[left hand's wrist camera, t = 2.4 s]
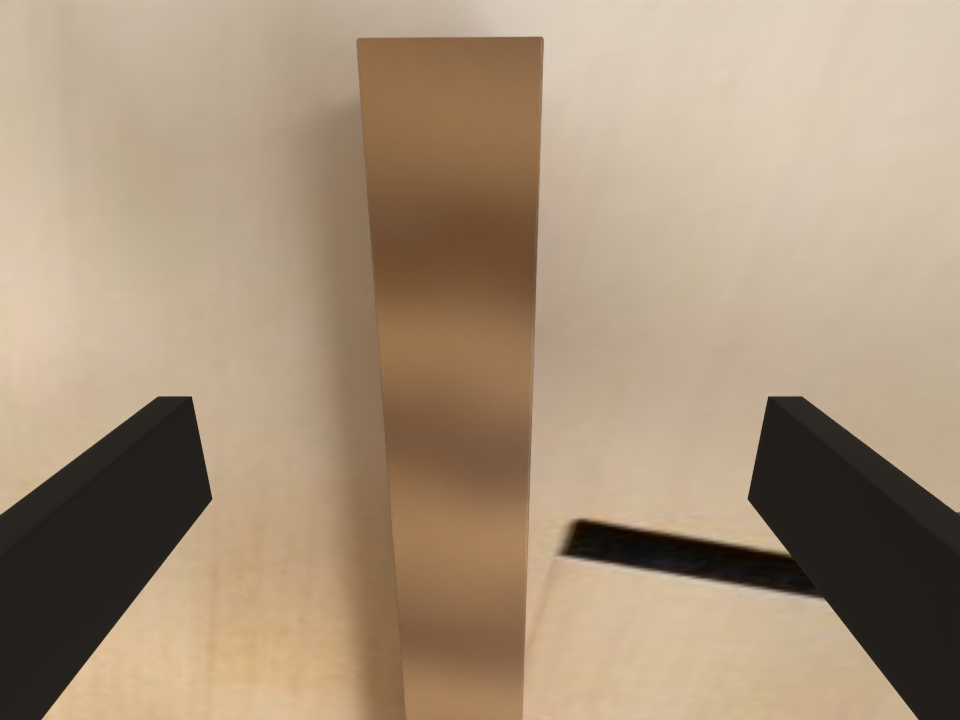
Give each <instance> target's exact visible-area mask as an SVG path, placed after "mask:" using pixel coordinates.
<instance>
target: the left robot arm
mask: <svg viewBox="0 0 960 720" xmlns="http://www.w3.org/2000/svg"><path fill="white" fill-rule="evenodd" d="M211 500H212V495H211V490H210V485H209V480H208V475H207V470H206V465H205V460H204V455H203V450H202V445H201V440H200V435H199V430H198V425H197V420H196V415H195V410H194V405H193V400H192V397H157V398H155V399H154V400H153V401H151V402H150V403H149V404H147V405H146V406H145V407H143V408H142V409H141V410H140V411H138V412H137V413H136V414H134V415H133V416H132V417H130V418H129V419H128V420H126V421H125V422H124V423H122V424H121V425H120V426H118V427H117V428H116V429H114V430H113V431H112V432H110V433H109V434H108V435H106V436H105V437H104V438H102V439H101V440H100V441H98V442H97V443H96V444H94V445H93V446H92V447H90V448H89V449H88V450H86V451H85V452H84V453H82V454H81V455H80V456H78V457H77V458H76V459H74V460H73V461H72V462H70V463H69V464H68V465H66V466H65V467H64V468H62V469H61V470H60V471H58V472H57V473H56V474H54V475H53V476H52V477H50V478H49V479H48V480H47V481H45V482H44V483H43V484H41V485H40V486H39V487H37V488H36V489H35V490H33V491H32V492H31V493H29V494H28V495H27V496H25V497H24V498H23V499H21V500H20V501H19V502H17V503H16V504H15V505H13V506H12V507H11V508H9V509H8V510H7V511H5V512H4V513H3V514H1V515H0V720H41V719H42V718H43V717H44V716H45V714H46V713H47V712H48V710H49V709H50V708H51V707H52V705H53V704H54V703H55V701H56V700H57V699H58V698H59V696H60V695H61V694H62V692H63V691H64V690H65V689H66V687H67V686H68V685H69V683H70V682H71V681H72V680H73V678H74V677H75V676H76V674H77V673H78V672H79V670H80V669H81V668H82V667H83V665H84V664H85V663H86V661H87V660H88V659H89V658H90V656H91V655H92V654H93V652H94V651H95V650H96V649H97V647H98V646H99V645H100V643H101V642H102V641H103V640H104V638H105V637H106V636H107V634H108V633H109V632H110V631H111V629H112V628H113V627H114V625H115V624H116V623H117V622H118V620H119V619H120V618H121V616H122V615H123V614H124V612H125V611H126V610H127V609H128V607H129V606H130V605H131V603H132V602H133V601H134V600H135V598H136V597H137V596H138V594H139V593H140V592H141V591H142V589H143V588H144V587H145V585H146V584H147V583H148V582H149V580H150V579H151V578H152V576H153V575H154V574H155V573H156V571H157V570H158V569H159V567H160V566H161V565H162V563H163V562H164V561H165V560H166V558H167V557H168V556H169V554H170V553H171V552H172V551H173V549H174V548H175V547H176V545H177V544H178V543H179V542H180V540H181V539H182V538H183V536H184V535H185V534H186V533H187V531H188V530H189V529H190V527H191V526H192V525H193V524H194V522H195V521H196V520H197V518H198V517H199V516H200V515H201V513H202V512H203V511H204V509H205V508H206V507H207V505H208V504H209V503H210V502H211ZM748 500H749V502H750V503H751V504H752V505H753V507H754V508H755V509H756V511H757V512H758V513H759V515H760V516H761V517H762V518H763V520H764V521H765V522H766V524H767V525H768V526H769V527H770V529H771V530H772V531H773V533H774V534H775V535H776V536H777V538H778V539H779V540H780V542H781V543H782V544H783V545H784V547H785V548H786V549H787V551H788V552H789V553H790V554H791V556H792V557H793V558H794V560H795V561H796V562H797V563H798V565H799V566H800V567H801V569H802V570H803V571H804V573H805V574H806V575H807V576H808V578H809V579H810V580H811V582H812V583H813V584H814V585H815V587H816V588H817V589H818V591H819V592H820V593H821V594H822V596H823V597H824V598H825V600H826V601H827V602H828V603H829V605H830V606H831V607H832V609H833V610H834V611H835V612H836V614H837V615H838V616H839V618H840V619H841V620H842V622H843V623H844V624H845V625H846V627H847V628H848V629H849V631H850V632H851V633H852V634H853V636H854V637H855V638H856V640H857V641H858V642H859V643H860V645H861V646H862V647H863V649H864V650H865V651H866V652H867V654H868V655H869V656H870V658H871V659H872V660H873V661H874V663H875V664H876V665H877V667H878V668H879V669H880V670H881V672H882V673H883V674H884V676H885V677H886V678H887V680H888V681H889V682H890V683H891V685H892V686H893V687H894V689H895V690H896V691H897V692H898V694H899V695H900V696H901V698H902V699H903V700H904V701H905V703H906V704H907V705H908V707H909V708H910V709H911V710H912V712H913V713H914V714H915V716H916V717H917V718H918V719H919V720H960V513H956V512H955V511H953V510H952V509H951V508H949V507H948V506H947V505H945V504H944V503H943V502H941V501H940V500H939V499H937V498H936V497H935V496H933V495H932V494H931V493H929V492H928V491H927V490H925V489H924V488H923V487H921V486H920V485H919V484H917V483H916V482H915V481H913V480H912V479H911V478H909V477H908V476H907V475H906V474H904V473H903V472H902V471H900V470H899V469H898V468H896V467H895V466H894V465H892V464H891V463H890V462H888V461H887V460H886V459H884V458H883V457H882V456H880V455H879V454H878V453H876V452H875V451H874V450H872V449H871V448H870V447H868V446H867V445H866V444H864V443H863V442H862V441H860V440H859V439H858V438H856V437H855V436H854V435H852V434H851V433H850V432H848V431H847V430H846V429H844V428H843V427H842V426H840V425H839V424H838V423H836V422H835V421H834V420H832V419H831V418H830V417H828V416H827V415H826V414H824V413H823V412H822V411H820V410H819V409H818V408H817V407H815V406H814V405H813V404H811V403H810V402H809V401H807V400H806V399H805V398H803V397H768V400H767V405H766V410H765V415H764V420H763V425H762V430H761V435H760V440H759V445H758V450H757V455H756V460H755V465H754V470H753V475H752V480H751V485H750V490H749V495H748Z"/></svg>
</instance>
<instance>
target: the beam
mask: <svg viewBox="0 0 960 720" xmlns="http://www.w3.org/2000/svg"><path fill="white" fill-rule="evenodd" d="M356 43H357V57H358V71H359V84H360V98H361V112H362V125H363V139H364V153H365V167H366V180H367V194H368V208H369V221H370V235H371V249H372V263H373V276H374V290H375V304H376V317H377V331H378V345H379V359H380V372H381V386H382V400H383V413H384V427H385V441H386V455H387V468H388V482H389V496H390V509H391V523H392V537H393V551H394V564H395V578H396V592H397V605H398V619H399V633H400V647H401V660H402V674H403V688H404V701H405V715H406V720H522V717H523V685H524V653H525V621H526V589H527V557H528V526H529V494H530V462H531V430H532V398H533V366H534V334H535V302H536V271H537V239H538V207H539V175H540V143H541V111H542V79H543V48H544V39H543V37H425V38H358V39H357V41H356Z"/></svg>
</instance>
